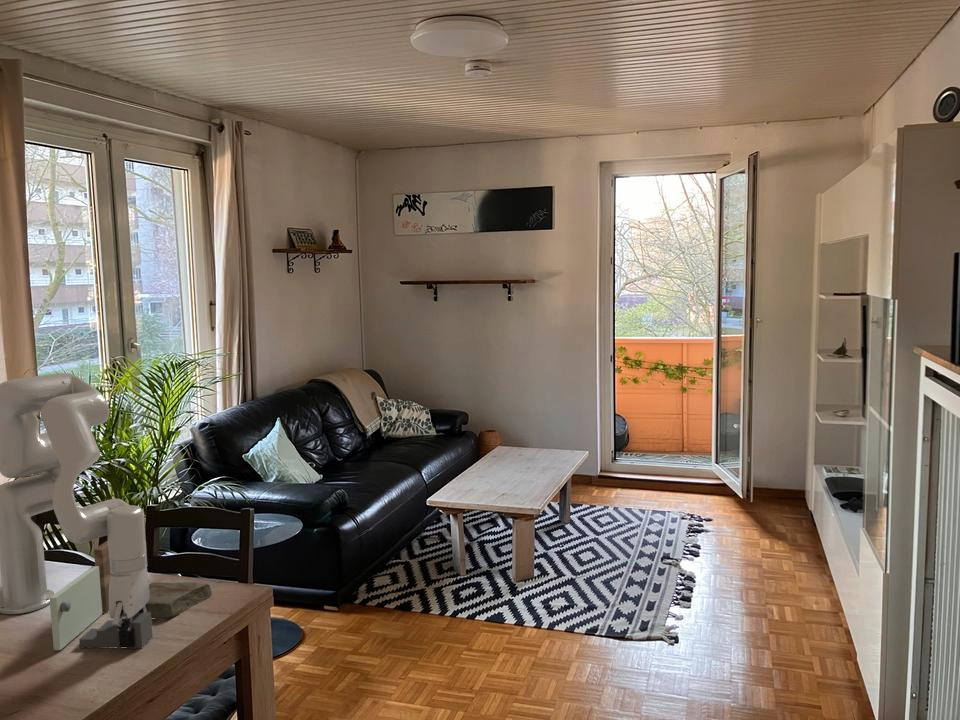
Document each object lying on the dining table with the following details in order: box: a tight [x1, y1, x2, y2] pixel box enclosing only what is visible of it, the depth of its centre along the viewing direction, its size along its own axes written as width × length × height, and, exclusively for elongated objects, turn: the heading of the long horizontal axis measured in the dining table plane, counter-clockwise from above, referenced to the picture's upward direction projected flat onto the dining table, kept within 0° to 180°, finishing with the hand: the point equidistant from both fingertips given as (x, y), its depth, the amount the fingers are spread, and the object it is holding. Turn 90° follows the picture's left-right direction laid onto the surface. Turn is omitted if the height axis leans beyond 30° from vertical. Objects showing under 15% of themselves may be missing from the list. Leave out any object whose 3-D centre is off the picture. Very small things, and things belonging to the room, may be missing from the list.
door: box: [49, 565, 103, 651], centre depth 177 cm, size 3×18×12 cm, turn 178°
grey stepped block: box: [78, 612, 153, 649], centre depth 173 cm, size 14×5×6 cm, turn 88°
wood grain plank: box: [93, 539, 111, 614], centre depth 194 cm, size 2×14×16 cm, turn 178°
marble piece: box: [146, 581, 213, 620], centre depth 192 cm, size 17×15×4 cm
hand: (133, 639), depth 173 cm, fingers closed on grey stepped block, 5 cm apart
